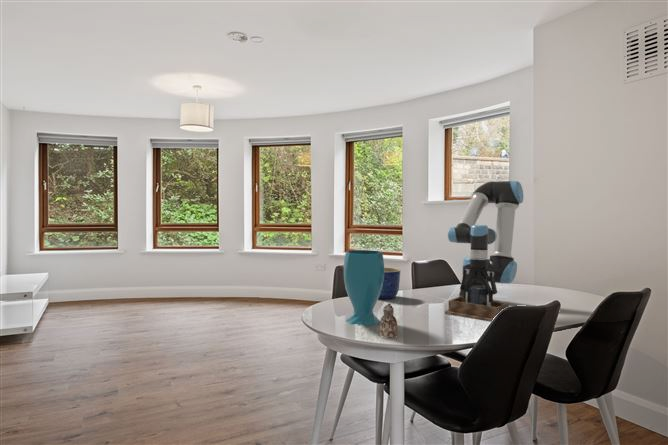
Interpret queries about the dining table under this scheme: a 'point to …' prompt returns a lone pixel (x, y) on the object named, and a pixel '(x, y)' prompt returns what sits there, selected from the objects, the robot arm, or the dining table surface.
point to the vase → (363, 283)
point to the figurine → (388, 323)
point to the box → (477, 295)
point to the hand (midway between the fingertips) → (477, 307)
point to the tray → (474, 309)
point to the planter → (390, 283)
